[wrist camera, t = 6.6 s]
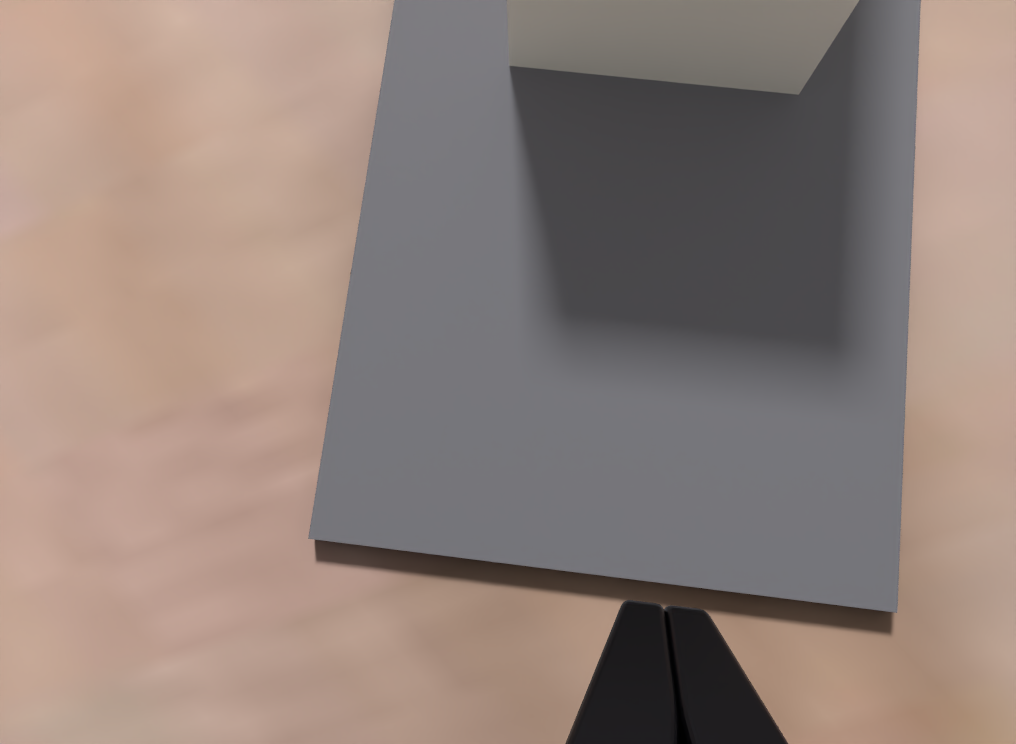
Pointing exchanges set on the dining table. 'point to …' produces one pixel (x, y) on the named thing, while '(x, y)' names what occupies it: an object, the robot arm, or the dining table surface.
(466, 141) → the mat
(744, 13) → the block
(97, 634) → the dining table surface
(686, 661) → the robot arm
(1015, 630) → the dining table surface
